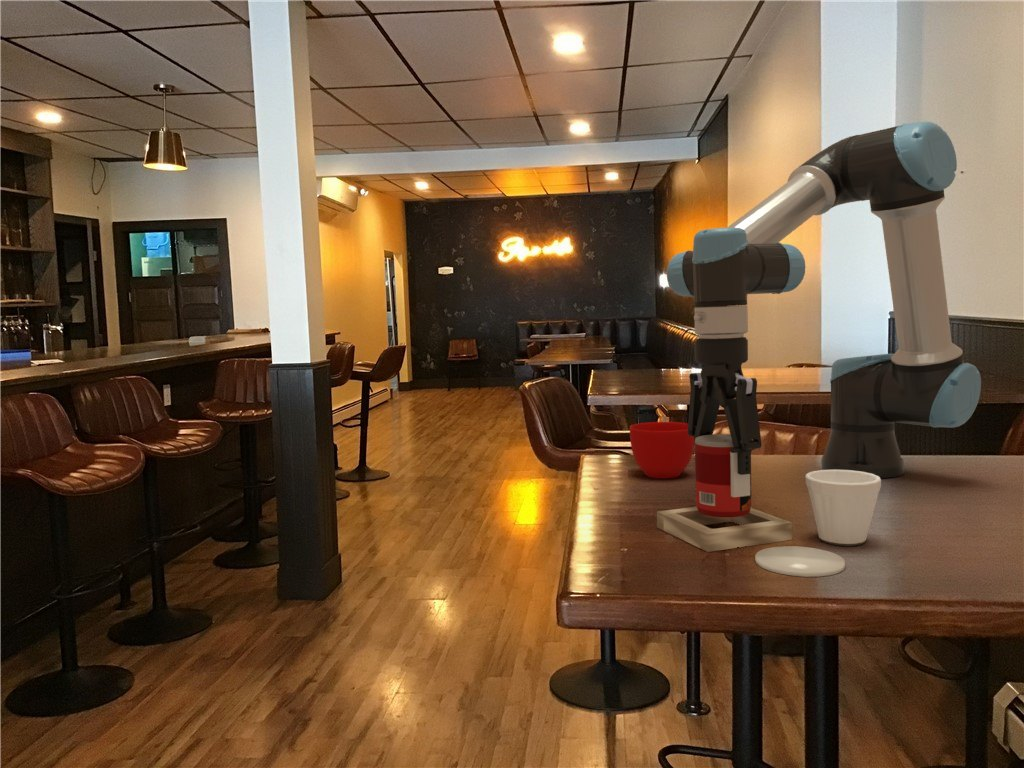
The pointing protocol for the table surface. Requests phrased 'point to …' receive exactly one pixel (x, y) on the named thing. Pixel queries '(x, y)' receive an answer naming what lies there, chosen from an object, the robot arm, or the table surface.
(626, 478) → the table surface
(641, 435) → the ceramic cup
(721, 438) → the canned food
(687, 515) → the holder
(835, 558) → the coaster
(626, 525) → the table surface
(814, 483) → the cup
